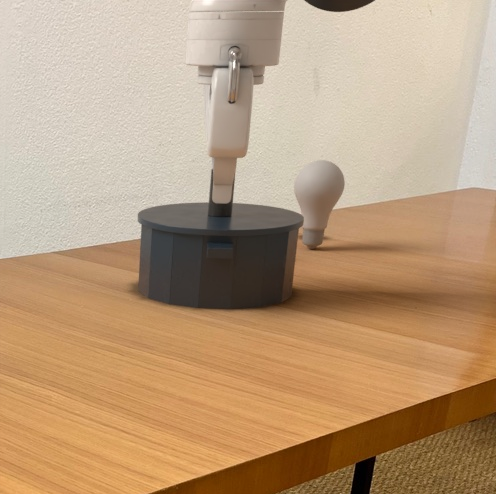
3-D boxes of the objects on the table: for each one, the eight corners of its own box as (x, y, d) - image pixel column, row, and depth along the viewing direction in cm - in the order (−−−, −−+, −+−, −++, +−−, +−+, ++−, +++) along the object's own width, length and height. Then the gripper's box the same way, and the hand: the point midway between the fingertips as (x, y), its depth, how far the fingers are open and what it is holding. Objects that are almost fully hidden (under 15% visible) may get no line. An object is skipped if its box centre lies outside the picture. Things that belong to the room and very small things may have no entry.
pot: (281, 283, 119) (289, 206, 115) (296, 332, 100) (307, 242, 97) (142, 279, 122) (146, 203, 118) (132, 326, 103) (137, 238, 99)
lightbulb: (292, 242, 140) (302, 156, 135) (339, 246, 138) (351, 158, 133) (282, 251, 135) (292, 162, 130) (331, 255, 133) (343, 164, 128)
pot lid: (295, 215, 114) (301, 160, 111) (310, 244, 99) (317, 181, 96) (141, 212, 116) (143, 158, 114) (132, 240, 102) (135, 179, 99)
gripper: (274, 48, 91) (257, 212, 96) (261, 43, 109) (247, 182, 115) (199, 48, 92) (187, 211, 97) (199, 43, 110) (189, 180, 116)
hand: (220, 195), depth 106 cm, fingers open, 8 cm apart
